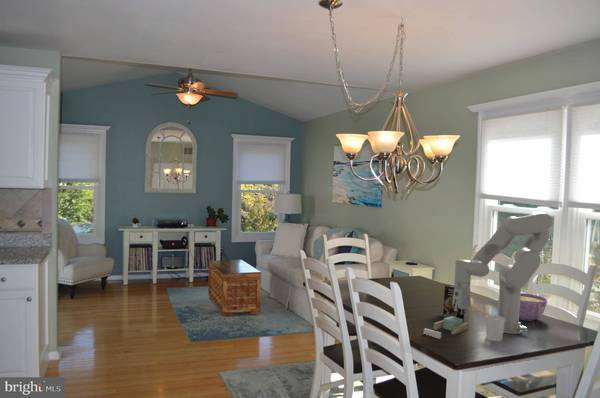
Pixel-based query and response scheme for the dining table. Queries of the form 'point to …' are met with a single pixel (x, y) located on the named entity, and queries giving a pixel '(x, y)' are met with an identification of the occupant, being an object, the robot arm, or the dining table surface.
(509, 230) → the robot arm
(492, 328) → the white cup
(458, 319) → the block
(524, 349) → the dining table surface
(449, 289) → the coffee box
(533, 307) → the bowl of food
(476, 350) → the dining table surface
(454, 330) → the channel
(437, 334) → the stop bar
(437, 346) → the dining table surface
